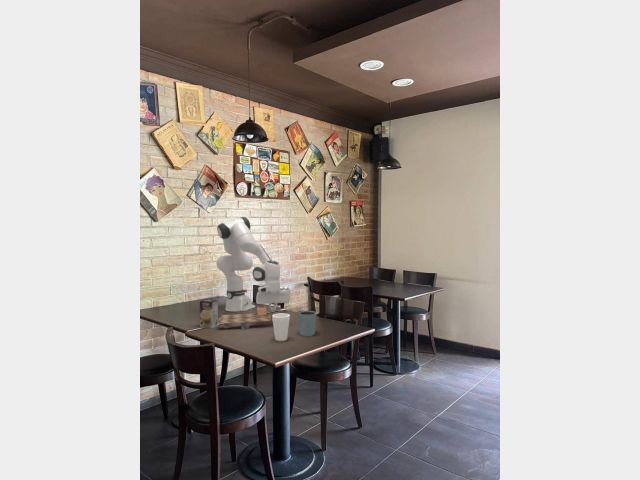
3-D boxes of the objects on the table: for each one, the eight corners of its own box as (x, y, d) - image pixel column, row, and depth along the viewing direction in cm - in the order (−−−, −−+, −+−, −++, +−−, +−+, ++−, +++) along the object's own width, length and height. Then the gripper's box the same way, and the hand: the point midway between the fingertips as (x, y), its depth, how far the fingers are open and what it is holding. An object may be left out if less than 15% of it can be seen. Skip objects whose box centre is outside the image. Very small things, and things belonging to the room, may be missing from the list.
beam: (269, 324, 243) (269, 312, 242) (270, 327, 235) (270, 315, 235) (219, 327, 236) (219, 314, 236) (219, 330, 229) (218, 318, 228)
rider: (265, 314, 241) (265, 304, 241) (266, 317, 235) (266, 306, 235) (257, 315, 240) (257, 304, 240) (258, 317, 234) (257, 307, 233)
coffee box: (199, 327, 237) (198, 300, 236) (205, 324, 243) (205, 298, 242) (212, 328, 234) (212, 301, 233) (218, 325, 240) (218, 299, 239)
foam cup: (272, 336, 216) (272, 313, 216) (289, 336, 217) (289, 313, 216) (272, 342, 207) (272, 317, 206) (289, 341, 208) (289, 317, 207)
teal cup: (303, 337, 215) (302, 315, 215) (295, 332, 224) (295, 311, 224) (319, 334, 220) (319, 313, 219) (311, 330, 229) (311, 309, 228)
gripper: (289, 286, 243) (289, 308, 244) (255, 287, 239) (256, 310, 240) (290, 287, 237) (290, 310, 238) (256, 289, 233) (256, 312, 233)
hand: (273, 310), depth 238 cm, fingers closed
